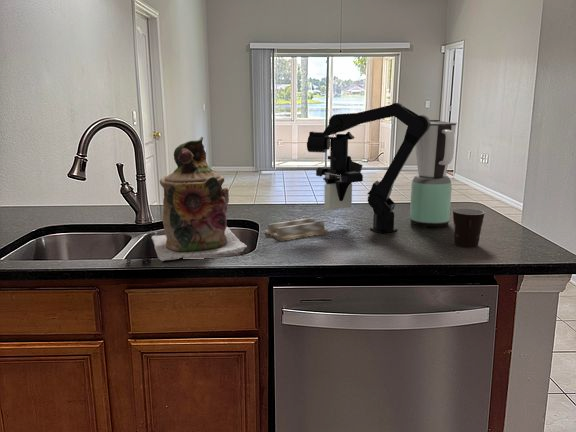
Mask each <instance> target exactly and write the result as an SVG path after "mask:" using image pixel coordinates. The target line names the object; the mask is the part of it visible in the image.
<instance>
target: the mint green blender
mask: <svg viewBox="0 0 576 432" xmlns="http://www.w3.org/2000/svg"><path fill="white" fill-rule="evenodd" d="M429 120H430V123H431V124H430V128H429V130H428V131H427V132H426V133H425V135H424V136H423V137H422V138H421V139H420V140H419V142H418V143H417V144H416V145H415V147H414V148H415V155H416V164H417V166H416V167H417V172H418V173H417V174H416V175H415V176H414V177H413V179H412V181H411V191H410V204H409V205H410V207H409V209H410V210H409V221H410V223H411V224H414V225H418V226H420V227H421V229H422V230H423V229H424V230H426V229H428V227H442V228H448V227H449V223H450V220H451V219H450V218H451V207H452V206H451V204H452V202H451V201H452V180H451V179H450V177H449V176H448V175H447V172H448V166H449V165H450V163H451V162H452V161H453V159H454V152H455V151H454V150H455V134H456V129H457V128H456V127H457V122H448V121H444V120H443V121H442V120H441V119H429Z"/></svg>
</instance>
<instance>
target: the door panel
mask: <svg viewBox="0 0 576 432" xmlns="http://www.w3.org/2000/svg"><path fill="white" fill-rule="evenodd" d="M352 194H353V182H352V183H351V184H350V185H349V186H348V188H347V190H346V193H345V196H344V199H343V201H340V200H339V197H338V192H337V188H336V183H334V184H326V183H325V184H324V203H323V204H324V209H326V210H329V211H332V210H339V209H346V208H352V206H353V205H352V204H353V202H352V201H353V199H352V198H353V195H352Z"/></svg>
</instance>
